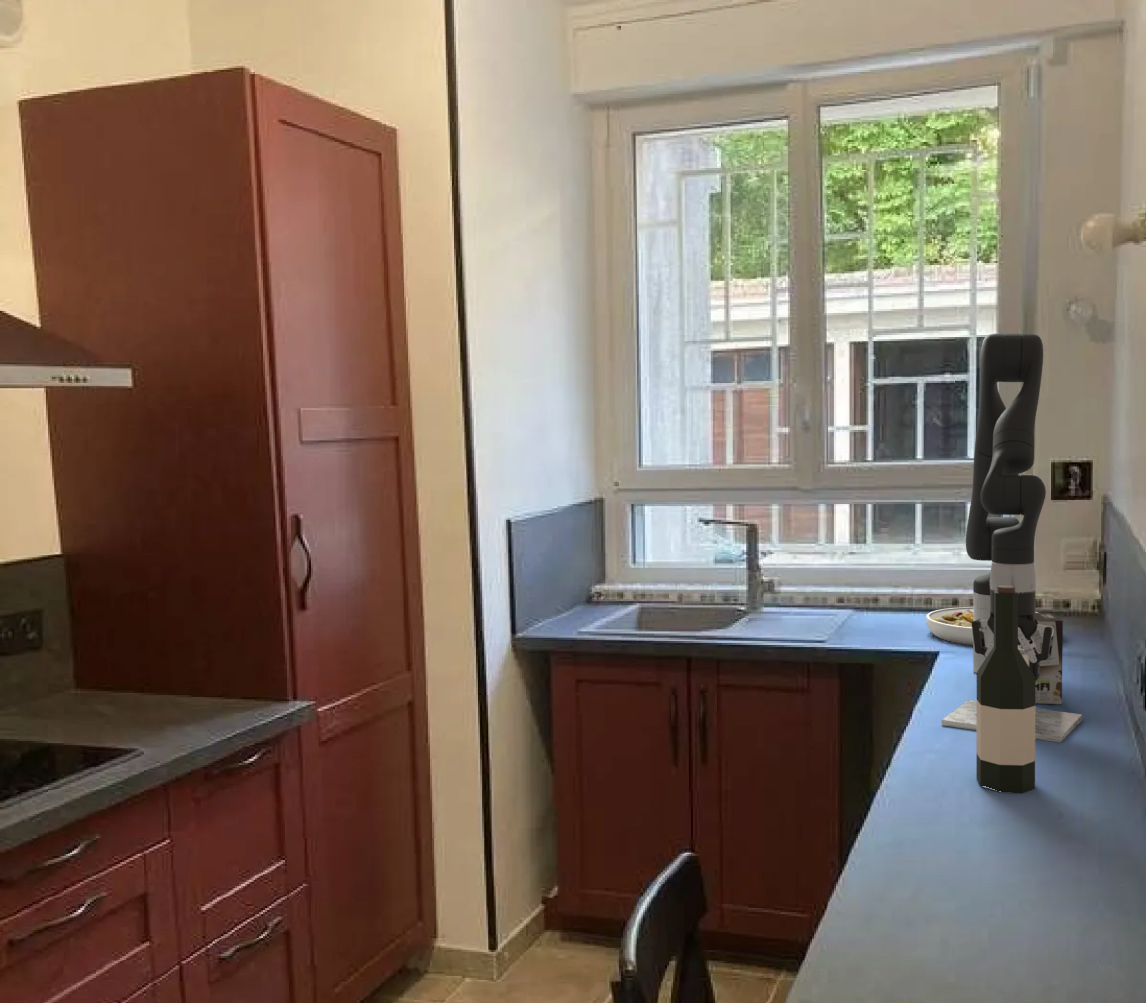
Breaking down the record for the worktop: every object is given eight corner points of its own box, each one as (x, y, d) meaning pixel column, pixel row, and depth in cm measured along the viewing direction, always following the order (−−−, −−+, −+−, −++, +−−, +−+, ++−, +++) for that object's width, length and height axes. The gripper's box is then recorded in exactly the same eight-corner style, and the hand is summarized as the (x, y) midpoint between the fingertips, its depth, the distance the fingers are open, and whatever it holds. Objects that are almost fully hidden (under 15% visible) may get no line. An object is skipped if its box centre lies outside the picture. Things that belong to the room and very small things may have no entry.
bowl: (1047, 654, 253) (1048, 620, 252) (913, 644, 268) (913, 612, 267) (1063, 630, 279) (1063, 600, 278) (940, 622, 294) (940, 593, 293)
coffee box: (1063, 704, 209) (1064, 620, 208) (1027, 704, 211) (1027, 620, 209) (1052, 692, 218) (1053, 611, 217) (1018, 692, 220) (1018, 611, 218)
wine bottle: (1029, 797, 161) (1030, 592, 158) (970, 788, 165) (970, 588, 163) (1039, 780, 168) (1040, 584, 165) (982, 772, 172) (982, 581, 170)
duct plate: (968, 705, 211) (968, 674, 210) (1082, 720, 199) (1082, 687, 198) (941, 725, 198) (941, 692, 197) (1060, 742, 186) (1061, 707, 186)
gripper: (1060, 587, 195) (1060, 680, 196) (977, 581, 204) (977, 671, 205) (1050, 593, 189) (1050, 689, 190) (965, 587, 198) (965, 679, 199)
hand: (1012, 679), depth 198 cm, fingers closed on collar, 6 cm apart
